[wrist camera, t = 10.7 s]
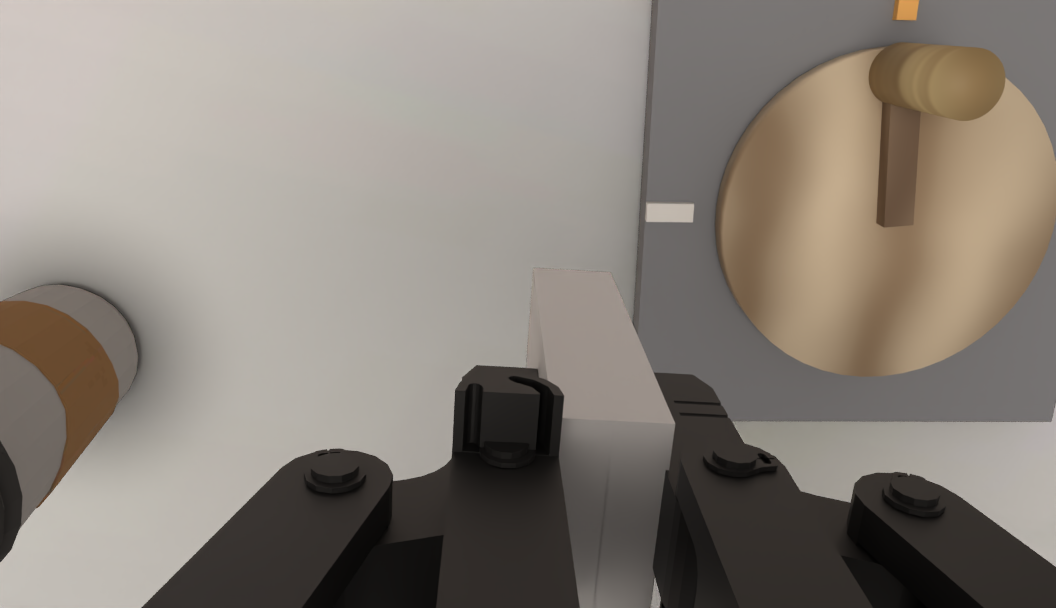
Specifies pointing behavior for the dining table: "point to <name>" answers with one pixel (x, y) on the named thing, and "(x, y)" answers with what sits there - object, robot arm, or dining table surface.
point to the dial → (887, 208)
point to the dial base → (698, 168)
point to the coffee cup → (54, 390)
